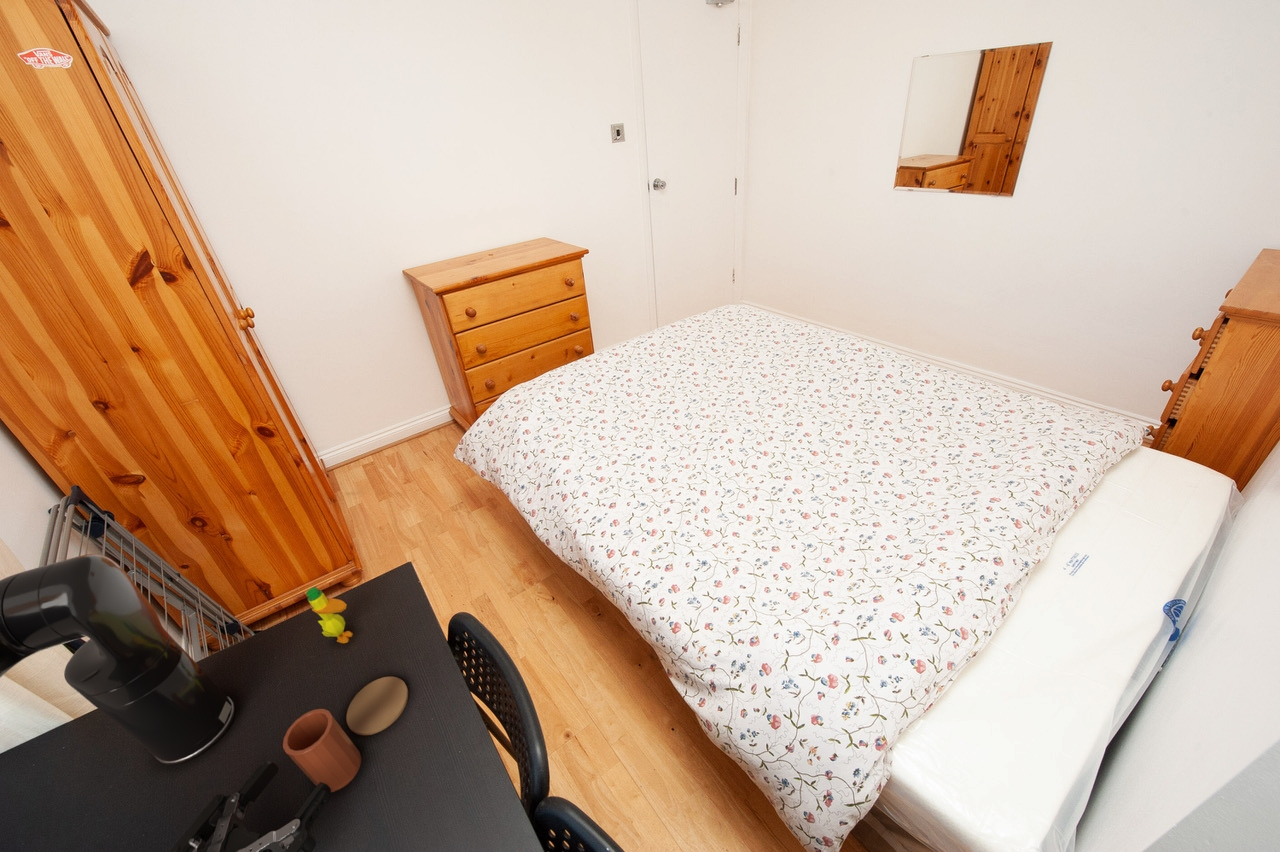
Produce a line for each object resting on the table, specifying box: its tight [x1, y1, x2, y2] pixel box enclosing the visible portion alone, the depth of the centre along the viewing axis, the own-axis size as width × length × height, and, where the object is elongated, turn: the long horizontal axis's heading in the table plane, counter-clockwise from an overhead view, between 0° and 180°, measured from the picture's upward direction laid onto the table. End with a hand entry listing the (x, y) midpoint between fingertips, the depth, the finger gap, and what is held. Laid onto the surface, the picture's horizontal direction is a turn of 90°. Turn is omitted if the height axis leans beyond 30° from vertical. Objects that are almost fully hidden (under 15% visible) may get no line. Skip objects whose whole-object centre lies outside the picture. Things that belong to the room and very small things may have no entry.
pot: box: [282, 708, 362, 793], centre depth 64 cm, size 5×5×10 cm
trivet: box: [345, 676, 409, 736], centre depth 74 cm, size 8×8×1 cm
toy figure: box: [305, 586, 354, 644], centre depth 81 cm, size 7×4×12 cm, turn 84°
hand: (299, 774), depth 61 cm, fingers open, 8 cm apart
